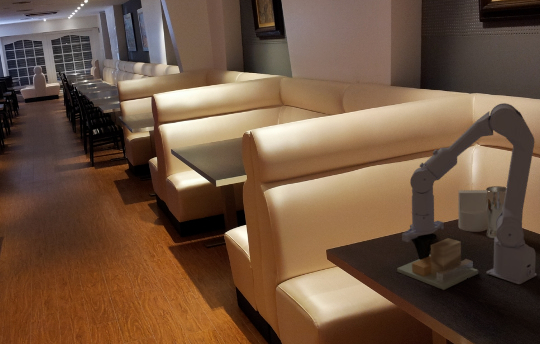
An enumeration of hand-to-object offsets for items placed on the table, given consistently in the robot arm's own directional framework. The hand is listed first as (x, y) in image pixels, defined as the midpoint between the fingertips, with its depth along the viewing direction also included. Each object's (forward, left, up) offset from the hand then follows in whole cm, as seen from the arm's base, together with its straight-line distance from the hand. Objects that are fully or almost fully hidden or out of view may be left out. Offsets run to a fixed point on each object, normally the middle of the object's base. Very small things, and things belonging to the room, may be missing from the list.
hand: (423, 259), depth 151 cm
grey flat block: (-5, 0, -2) cm, 5 cm away
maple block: (-7, 0, -1) cm, 7 cm away
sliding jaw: (-3, 0, -1) cm, 4 cm away
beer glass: (0, -34, -3) cm, 34 cm away
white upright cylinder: (+10, -36, -3) cm, 38 cm away
